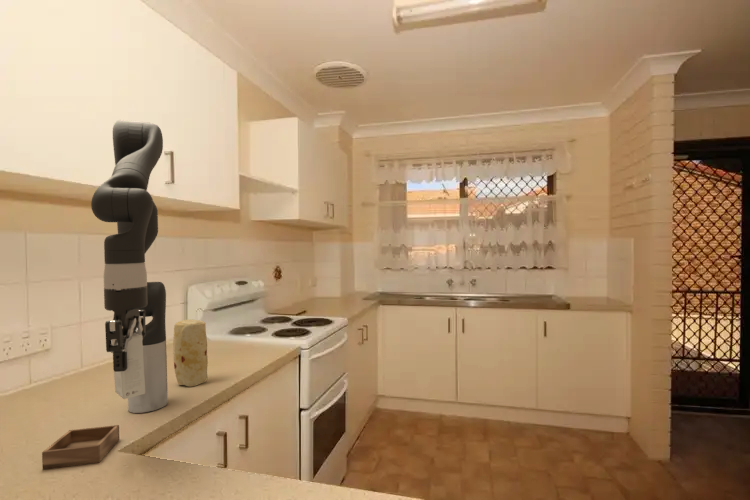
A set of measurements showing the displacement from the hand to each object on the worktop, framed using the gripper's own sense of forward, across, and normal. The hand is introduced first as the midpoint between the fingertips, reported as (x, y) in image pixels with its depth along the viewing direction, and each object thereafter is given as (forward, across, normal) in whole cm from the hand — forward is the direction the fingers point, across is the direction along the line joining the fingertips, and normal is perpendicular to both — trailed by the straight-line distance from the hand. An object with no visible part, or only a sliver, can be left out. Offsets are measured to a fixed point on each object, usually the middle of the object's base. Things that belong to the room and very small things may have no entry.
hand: (128, 365), depth 82 cm
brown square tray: (+18, -2, -9) cm, 20 cm away
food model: (+19, -42, +2) cm, 46 cm away
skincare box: (+6, 0, 0) cm, 6 cm away
